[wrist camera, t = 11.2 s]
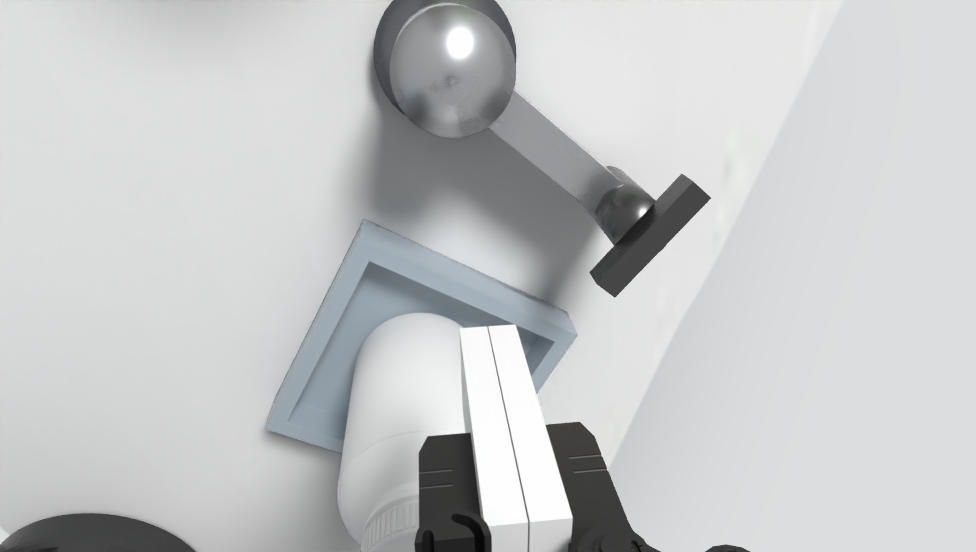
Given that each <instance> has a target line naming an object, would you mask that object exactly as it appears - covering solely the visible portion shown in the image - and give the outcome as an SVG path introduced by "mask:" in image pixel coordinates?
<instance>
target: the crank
mask: <svg viewBox="0 0 976 552" xmlns="http://www.w3.org/2000/svg"><path fill="white" fill-rule="evenodd" d="M515 78H516V66H515V59H514V55H513V51H512V48H511V46H510V43H509V41H508V39H507V38H506V36H505V34H504V33H503V32H502V30H501V29H500V28H499V26H498V25H497V24H496V23H495V22H494V21H492V20H491V19H490V18H489V17H487V16H486V15H484V14H482V13H481V12H479V11H477V10H474V9H472V8H469V7H466V6H464V5H461V4H458V3H454V2H436V3H432V4H429V5H426V6H424V7H422V8H420V9H418V10H417V11H416V12H414V13H413V14H412V15H411V16H410V17H409V18H408V19H407V20H406V22H405V23H404V24H403V26H402V28H401V29H400V32H399V34H398V36H397V39H396V42H395V45H394V48H393V51H392V55H391V61H390V81H391V86H392V90H393V93H394V96H395V99H396V101H397V103H398V104H399V106H400V108H401V109H402V111H403V112H404V114H405V115H406V116H407V117H408V118H409V119H410V120H411V121H412V122H413V123H414V124H416V125H417V126H418V127H420V128H421V129H423V130H425V131H427V132H429V133H431V134H434V135H437V136H442V137H450V138H457V137H465V136H470V135H473V134H476V133H478V132H480V131H482V130H484V129H485V128H487V127H488V128H489V129H490V130H492V131H493V132H494V133H495V134H497V135H498V136H499V137H500V138H502V139H503V140H504V141H505V142H507V143H508V144H509V145H510V146H512V147H513V148H514V149H515V150H516V151H518V152H519V153H520V154H521V155H523V156H524V157H525V158H526V159H528V160H529V161H530V162H531V163H533V164H534V165H535V166H536V167H538V168H539V169H540V170H541V171H542V172H544V173H545V174H546V175H547V176H549V177H550V178H551V179H552V180H554V181H555V182H556V183H557V184H559V185H560V186H561V187H562V188H564V189H565V190H566V191H567V192H568V193H570V194H571V195H572V196H573V197H575V198H576V199H577V200H578V201H580V202H581V203H582V204H583V205H584V207H585V208H586V209H587V211H588V212H589V213H590V215H591V216H592V217H593V219H594V220H595V221H596V222H597V224H598V225H599V226H600V228H601V229H602V230H603V231H604V233H605V234H606V235H607V237H608V238H609V239H610V241H611V242H612V243H613V244H614V247H613V248H612V249H611V250H610V251H609V252H608V253H607V254H606V255H605V256H604V257H603V258H602V260H601V261H600V262H599V263H598V264H597V265H596V266H595V267H594V268H593V269H592V270H591V271H590V274H591V276H592V277H593V279H594V281H595V282H596V284H597V285H599V286H600V287H601V288H603V289H604V290H605V291H607V292H608V293H609V294H611V295H612V296H613V297H616V296H617V295H618V294H619V293H620V292H621V291H622V290H623V289H624V288H625V287H626V286H627V285H628V284H629V283H630V282H631V280H632V279H633V278H634V277H635V276H636V275H637V274H638V273H639V272H640V271H641V270H642V269H643V268H644V267H645V266H646V265H647V264H648V263H649V262H650V261H651V260H652V259H653V258H654V257H655V256H656V255H657V254H658V253H659V252H660V251H661V250H662V249H663V248H664V247H665V246H666V244H667V243H668V242H669V241H670V240H671V239H672V238H673V237H674V236H675V235H676V234H677V233H678V232H679V231H680V230H681V229H682V228H683V227H684V226H685V225H686V224H687V223H688V222H689V220H690V219H691V218H692V217H693V216H694V215H695V214H696V213H697V212H698V211H699V210H700V209H701V208H702V207H703V206H704V205H705V204H706V203H707V202H708V201H709V200H710V199H711V197H709V196H708V195H707V194H706V193H705V192H704V191H703V190H702V189H701V188H700V187H699V186H697V185H696V184H695V183H694V182H693V181H692V180H690V179H689V178H687V177H686V176H684V175H683V174H681V175H680V176H679V177H678V178H677V179H676V180H675V181H674V182H673V183H672V185H671V186H670V187H669V188H668V189H667V190H666V191H665V192H664V193H663V194H662V195H661V196H660V197H659V198H658V200H657V201H655V200H654V199H653V198H652V197H651V196H650V195H649V194H648V193H646V192H645V191H644V190H643V189H642V188H641V187H640V186H639V185H637V184H636V183H635V182H634V181H633V180H632V179H631V178H630V177H628V176H627V175H626V174H625V173H624V172H623V171H621V170H620V169H618V168H616V167H611V166H604V165H603V164H602V163H601V162H599V161H598V160H597V159H596V158H595V157H594V156H592V155H591V154H590V153H589V152H588V151H587V150H585V149H584V148H583V147H582V146H581V145H580V144H578V143H577V142H576V141H575V140H574V139H573V138H571V137H570V136H569V135H568V134H567V133H566V132H564V131H563V130H562V129H561V128H560V127H559V126H557V125H556V124H555V123H554V122H553V121H551V120H550V119H549V118H548V117H547V116H546V115H544V114H543V113H542V112H541V111H540V110H539V109H537V108H536V107H535V106H534V105H533V104H532V103H530V102H529V101H528V100H527V99H526V98H525V97H523V96H522V95H521V94H520V93H519V92H518V91H516V90H515V89H514V86H515Z"/></svg>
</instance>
